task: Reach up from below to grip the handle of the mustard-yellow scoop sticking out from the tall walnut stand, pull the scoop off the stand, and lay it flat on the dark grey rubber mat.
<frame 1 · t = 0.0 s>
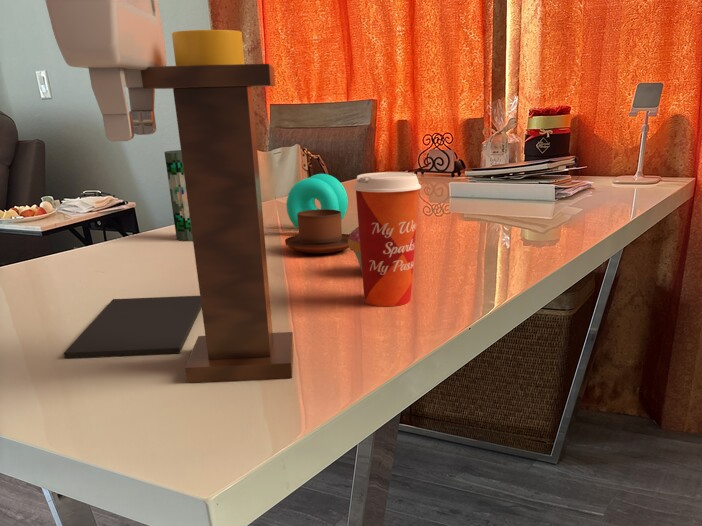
hand: (134, 137, 57), 21 cm above the table, tool pointing down, fingers open, 8 cm apart
cup and saucer: (321, 251, 122), on the table
coffee cup: (388, 301, 92), on the table
mat: (143, 325, 85), on the table
donuts: (319, 232, 138), on the table
stand: (243, 362, 72), on the table
can: (193, 238, 136), on the table
cupcake: (377, 273, 106), on the table
scoop: (215, 67, 62), point 26 cm above the table, touching stand
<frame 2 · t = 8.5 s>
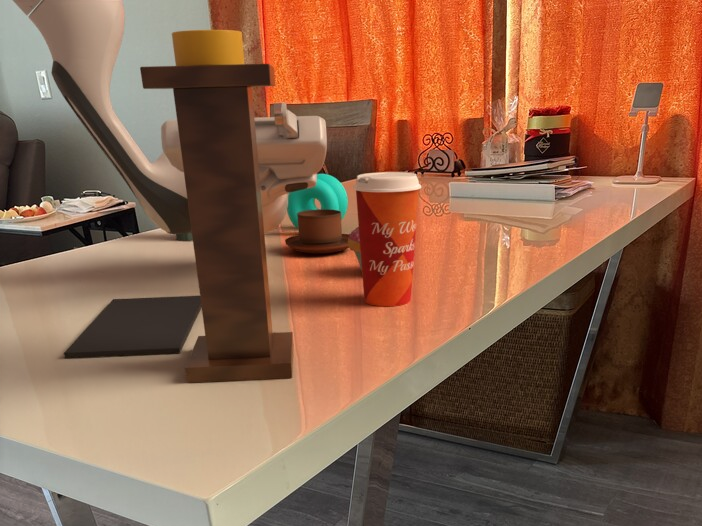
hand: (238, 110, 82), 22 cm above the table, tool pointing upward, fingers open, 8 cm apart
nothing on the table moved.
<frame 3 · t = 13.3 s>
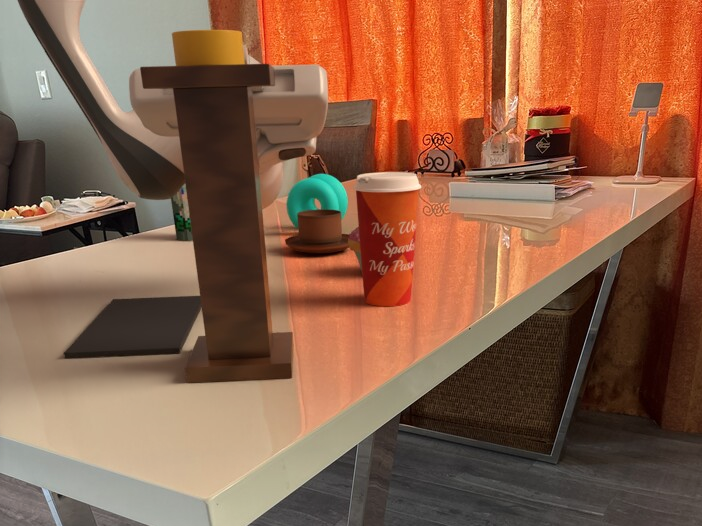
hand: (221, 53, 67), 27 cm above the table, tool pointing upward, fingers closed on scoop, 2 cm apart
scoop: (215, 67, 62), point 26 cm above the table, touching gripper, stand
everything else where it was.
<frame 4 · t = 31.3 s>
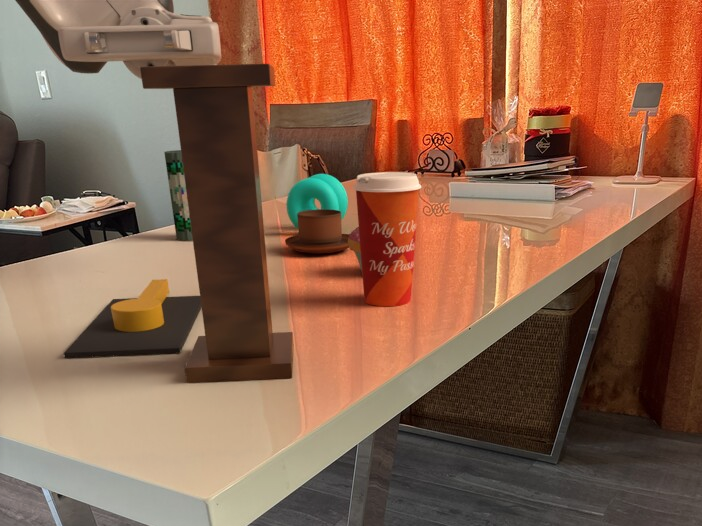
hand: (130, 39, 86), 30 cm above the table, tool horizontal, fingers open, 8 cm apart
scoop: (146, 315, 86), point 1 cm above the table, touching mat
everything else where it was.
at the end: scoop inside the target area on the mat (2.3 cm from its centre), point 0.6 cm above the mat's base; scoop tilted 0°; the gripper is holding nothing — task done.
